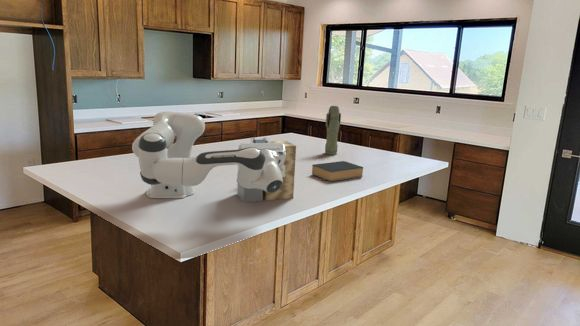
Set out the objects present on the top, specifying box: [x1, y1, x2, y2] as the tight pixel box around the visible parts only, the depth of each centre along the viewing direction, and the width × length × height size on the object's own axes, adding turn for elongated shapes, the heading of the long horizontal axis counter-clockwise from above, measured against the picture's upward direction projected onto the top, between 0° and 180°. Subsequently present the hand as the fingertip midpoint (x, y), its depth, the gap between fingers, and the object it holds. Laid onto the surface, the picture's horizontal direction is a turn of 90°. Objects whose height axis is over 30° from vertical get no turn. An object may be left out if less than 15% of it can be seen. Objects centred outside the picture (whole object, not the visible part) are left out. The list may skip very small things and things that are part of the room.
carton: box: [262, 140, 297, 201], centre depth 212 cm, size 14×12×26 cm
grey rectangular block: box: [236, 165, 263, 203], centre depth 208 cm, size 9×13×16 cm
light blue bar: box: [255, 138, 265, 143], centre depth 202 cm, size 4×26×4 cm, turn 20°
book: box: [311, 160, 364, 182], centre depth 257 cm, size 17×25×7 cm
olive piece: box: [324, 105, 342, 156], centre depth 316 cm, size 9×12×35 cm
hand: (258, 138), depth 193 cm, fingers closed on light blue bar, 4 cm apart
